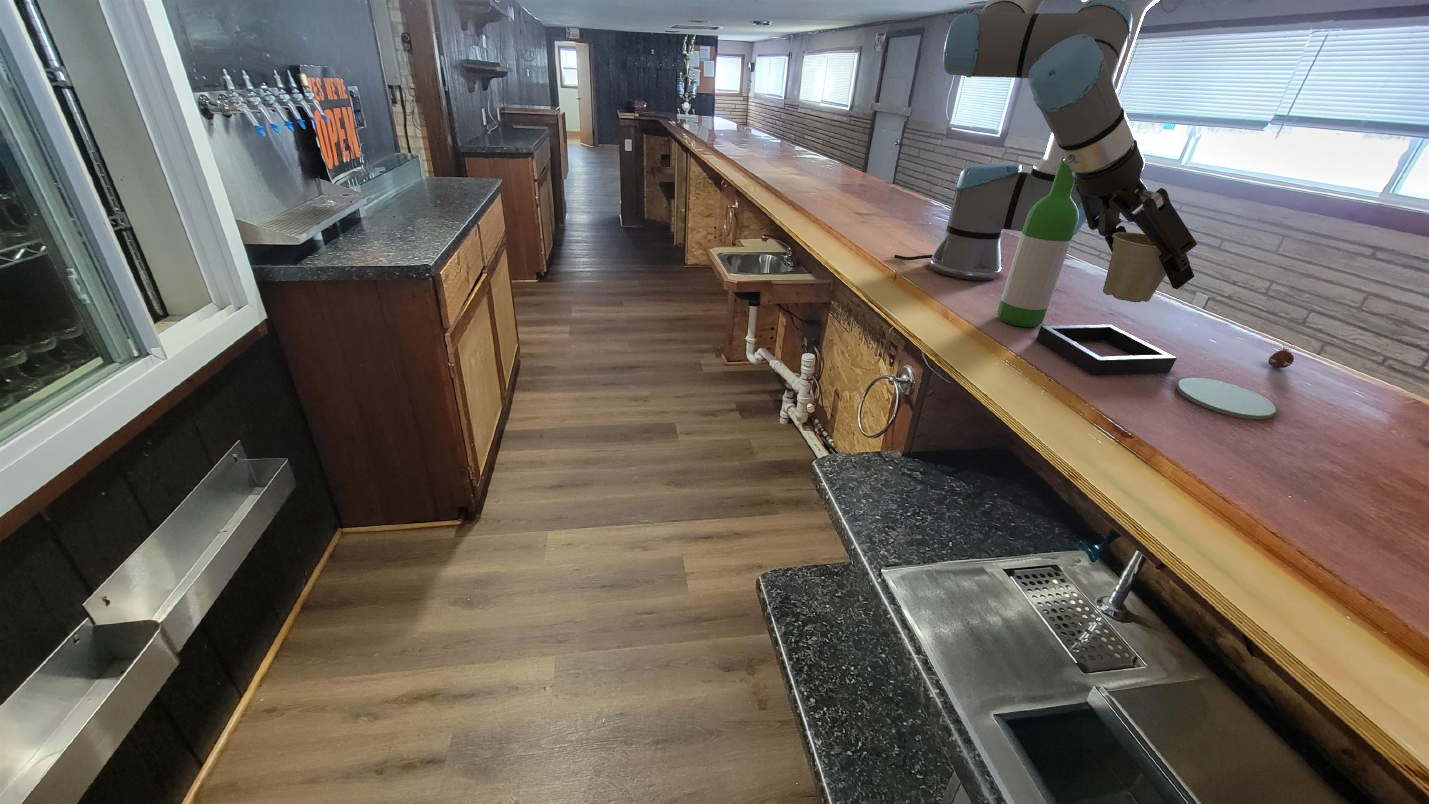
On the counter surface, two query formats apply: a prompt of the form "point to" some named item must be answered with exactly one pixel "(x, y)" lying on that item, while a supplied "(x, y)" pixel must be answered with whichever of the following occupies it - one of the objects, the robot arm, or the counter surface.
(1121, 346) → the holder
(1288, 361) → the chocolate
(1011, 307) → the wine bottle
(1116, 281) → the flower pot
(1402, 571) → the counter surface
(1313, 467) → the counter surface
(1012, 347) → the counter surface
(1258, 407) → the coaster
